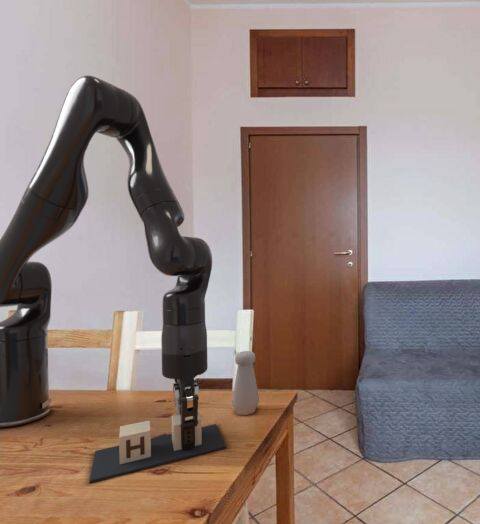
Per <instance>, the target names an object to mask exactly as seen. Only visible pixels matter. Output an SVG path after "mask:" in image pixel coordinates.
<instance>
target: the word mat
mask: <svg viewBox="0 0 480 524" xmlns="http://www.w3.org/2000/svg"><path fill="white" fill-rule="evenodd" d="M201 433H202V444H201V445H197V446H194V447H191V448H187V449H181V450H176V451H174V448H173V443H172V433H170V434H165V435H160V436H156V437H151V457H148V458H144V459H140V460H136V461H132V462H128V463H124V464H120V455H119V445H116V446H111V447H107V448H102V449H98V450H97V449H96V450H95V452H94V457H93V461H92V466H91V471H90V475H89V480H88V481H89V482H88V483H89V484H92V483H96V482H99V481H100V482H101V481H103V480H107V479H111V478H115V477H119V476H123V475H127V474H130V473H135V472H139V471H142V470H146V469H151V468H154V467H158V466H162V465H166V464H170V463H173V462H177V461H181V460H185V459H189V458H193V457H198V456H201V455H205V454H209V453H213V452H217V451H220V450H223V449H227V445H226V442H225V440H224V438H223V435H222V434H221V432H220V430H219V428H218V426H217V423H215V424H210V425H206V426H205V425H204V426H201Z"/></svg>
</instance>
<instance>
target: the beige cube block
mask: <svg viewBox="0 0 480 524" xmlns="http://www.w3.org/2000/svg"><path fill="white" fill-rule="evenodd" d="M189 419H192V416H190V417H186V418H185V420H189ZM179 424H180V415H177V414H175V415H171V434H172V443H173V448H174V451H176V450H181V449H182V447H181V428H180V425H179ZM201 427H202V418H201V415H200V413H199V412H198V424H197V426H195V446H197V445H201V444H202V433H201Z"/></svg>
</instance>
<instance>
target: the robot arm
mask: <svg viewBox="0 0 480 524" xmlns="http://www.w3.org/2000/svg"><path fill="white" fill-rule="evenodd" d="M62 103H63V104H62V106H61V108H60V111H59V115H58V117H57V120H56V123H55V126H54V129H53V132H52V135H51V138H50V140H49V142H48V145H47V147H46V149H45V151H44V154H43V155H42V158H41V160H40V162H39V163H38V166H37V168H36V170H35V172H34V174H33V175H32V177H31V179H30V181H29V182H28V185H27V186H26V189H24V192H23V195H22V197H21V199H20V201H19V203H18V206H17V208H16V210H15V213H14V214H13V216H12V218H11V220H10V222H9V224H8V226H7V227H6V229H5V231H4V233H3V234H2V236H1V238H0V308H7V307H15V306H16V310H15V312H13V313H12V314H11V315H10V316H8V317H7V318H6V319H3V320H2V321H0V428H10V427H17V426H21V425H25V424H26V425H27V424H29V423H32V422H35V421H38V420H40V419H42V418H45V417H46V416H48V415H49V414H50V413H51V408H50V407H51V406H50V404H52V398H51V397H50V379H49V377H50V376H49V375H50V374H49V342H48V340H49V339H48V338H49V337H48V327H49V325H50V322H51V317H52V295H53V294H52V292H53V291H52V288H53V285H52V277H51V273H50V271H49V269H48V267H47V266H46V265H45V264H44V263H42V262H40V261H34V260H33V261H30V259H31V258H32V257H33V256H34V255H35V254H36V253H37V252H39V251H40V250H42V249H44V248H45V247H47V245H49V244H51V243H52V242H54V241H56V240H57V239H59V238H60V237H61V236H63V235H64V234H66V233H67V232H68V231H70V230H71V229H72V228H73V227H74V226H75V224H76V223H77V221H78V219H79V218H80V215H81V214H82V212H83V210H84V209H85V207H86V205H87V203H88V199H89V195H90V191H89V182H88V178H87V174H86V169H85V155H86V152H87V150H88V147H89V145H90V142H91V140H92V139H93V137H94V136H95V134H96V133H97V134H99V135H100V134H101V135H104V136H107V137H110V138H114V139H115V140H116V141H117V142H118V143H119V144H120V146H121V147H122V149H123V150H124V152H125V154H126V156H127V158H128V172H127V179H126V181H127V184H126V186H127V192H128V196H129V198H130V201H131V203H132V204H133V207H134V208H135V210H136V213H137V215H138V217H139V218H140V221H141V222H142V224H143V228H144V236H145V237H144V238H145V241H146V247H147V253H148V256H149V257H148V258H149V259H150V262H151V263H152V265H153V266H154V268H155V269H156V270H157V271H158V272H159V273H161V274H162V275H164V276H168V277H177V279H176V282H175V286H174V287H172V289H169V290H167V291H166V292H165V293H164V294H163V296H162V300H161V301H162V302H161V303H162V304H161V305H162V306H161V308H162V309H161V310H162V311H161V312H162V330H161V336H160V337H161V338H160V340H161V341H160V342H161V343H160V345H161V375H162V377H164V378H165V379H170V380H174V382H173V383H172V393H173V402H174V407H175V409H176V410H175V415H180V424H179V425H180V428H181V447H182V449H187V448H191V447H194V446H195V426H197V424H198V413H199V399H200V398H199V392H200V389H199V388H200V387H199V383H197V382H198V381H197V379H195V378H196V377H198V376H200V375H203V374H204V373H206V372H207V370H208V368H209V367H208V332H207V326H206V294H207V291H208V288H209V283H210V278H211V274H212V269H213V254H212V250H211V248H210V246H209V244H208V243H207V242H206V241H205V240H204V239H202V238H200V237H197V236H184V235H181V234H180V231H179V229H178V228H179V227H180V226H182V224H183V223H184V221H185V213H184V210H183V208H182V205H181V204H180V202H179V200H178V198H177V196H176V194H175V193H174V190H173V188H172V187H171V185H170V183H169V181H168V178H167V176H166V174H165V172H164V169H163V167H162V164H161V161H160V158H159V155H158V152H157V149H156V145H155V142H154V140H153V136H152V133H151V130H150V126H149V123H148V120H147V117H146V114H145V111H144V108H143V107H142V105H141V103H140V101H139V100H138V99H137V97H136V96H135V95H134V94H131V93H130V92H129V91H126V90H125V89H122V88H121V87H119V86H116V85H114V84H112V83H110V82H108V81H106V80H104V79H101V78H99V77H97V76H93V75H83V76H80V77H78V79H76V80H75V81H74V82H73V83H72V84H71V86H70V88H69V90H68V92H67V93H66V96H65V98H64V100H63V102H62ZM190 416H192V419H189V420H185V418H186V417H190Z"/></svg>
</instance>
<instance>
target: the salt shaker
mask: <svg viewBox="0 0 480 524" xmlns="http://www.w3.org/2000/svg"><path fill="white" fill-rule="evenodd" d="M234 362H235V364H236V365H237V369H236V374H235V379H234V380H235V381H234V387H233V393H232V399H231V405H232V407H233V409H234V410H235V412H236V414H237V415H238V416H239V415H240V416H248V415H252V414H254V413H255V412H256V409H257V408H258V405H259V403H260V395H259V389H258V385H257V379H256V374H255V368H254V363H255V362H256V353H255V352H253V351H251V350H243V351H239V352H237V353H236V354H235V358H234Z"/></svg>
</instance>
